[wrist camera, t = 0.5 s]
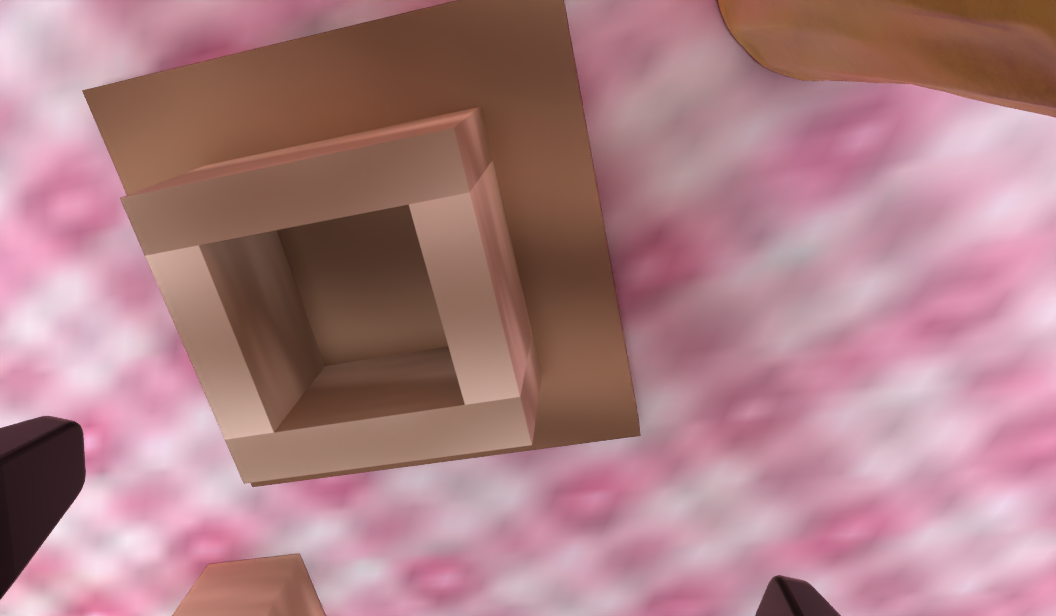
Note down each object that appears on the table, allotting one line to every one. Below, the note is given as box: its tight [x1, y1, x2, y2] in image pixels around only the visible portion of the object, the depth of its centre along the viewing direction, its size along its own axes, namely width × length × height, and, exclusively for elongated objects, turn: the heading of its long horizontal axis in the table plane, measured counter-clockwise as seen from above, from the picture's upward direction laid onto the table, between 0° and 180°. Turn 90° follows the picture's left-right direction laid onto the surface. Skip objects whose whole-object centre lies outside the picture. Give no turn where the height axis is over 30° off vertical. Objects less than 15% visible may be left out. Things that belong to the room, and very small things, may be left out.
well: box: [82, 0, 641, 487], centre depth 20 cm, size 14×14×5 cm
